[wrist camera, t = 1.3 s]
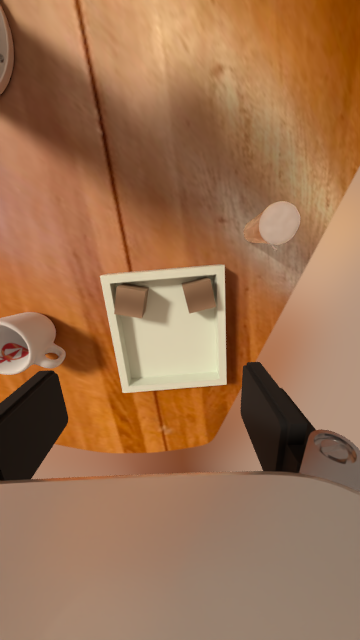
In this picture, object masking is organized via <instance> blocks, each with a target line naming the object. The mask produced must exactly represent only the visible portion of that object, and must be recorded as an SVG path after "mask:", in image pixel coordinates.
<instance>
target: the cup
mask: <svg viewBox="0 0 360 640" xmlns="http://www.w3.org/2000/svg"><path fill="white" fill-rule="evenodd" d="M55 337H56V329H55V326H54V324H53V323H52V321H51V320H50V319H49V318H47V317H46V316H44V315H42V314H40V313H36V312H26V313H21V314H16V315H12V316H8V317H4V318H0V374H6V375H12V374H18V373H21V372H23V371H25V370H26V369H27V368H29V367H30V366H31V365H33V364H36V365H39V366H42V367H45V368H55V367H57V366H59V365H60V364H61V363H62V362H63V361H64V359H65V356H66V352H65V350H64V349H62V348H61V347H59V346H57V345H56V344H54V343H53V342H54V340H55ZM47 353H55V354H57V355H58V356H59V358H58V359H55V360H52V359H48V358H47V357H45V354H47Z"/></svg>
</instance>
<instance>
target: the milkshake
mask: <svg viewBox="0 0 360 640" xmlns="http://www.w3.org/2000/svg"><path fill="white" fill-rule="evenodd" d="M299 225H300V214H299V212H298V210H297V208H296V207H295V206H294V205H293V204H292V203H289V202H286V201H278V202H275V203H273V204H271V205H269V206H268V207H267V208H266V209H265V210H263V211H262V212H261V213H260V214H259V215H258V216H256V217H255V218H254V219H252V220H251V221H250V222H248V223H247V224H246V225H245V228H244V231H243V233H244V237H245V239H246V240H247V241H249V242H250V243H265V244H270V245H271V246H272V248H273V249H274V250H275V251H277V249H276V248H275V246H274V245H281V244H284V243H286V242H288V241H289V240H290V239H292V238H293V236H294V235H295V234H296V232H297V230H298V228H299Z"/></svg>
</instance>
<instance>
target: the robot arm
mask: <svg viewBox="0 0 360 640" xmlns="http://www.w3.org/2000/svg"><path fill="white" fill-rule="evenodd" d="M13 62H14V46H13V40H12V34H11V30H10V27H9V24H8V21H7V18H6V15H5V13H4V11H3V9H2V7H1V5H0V95H1V94H2V93H3V91H4V90H5V88H6V86H7V85H8V83H9V80H10V77H11V74H12V70H13ZM241 416H242V419H243V422H244V424H245V427H246V429H247V432H248V434H249V436H250V439H251V442H252V444H253V447H254V449H255V452H256V454H257V456H258V459H259V461H260V464H261V466H262V469H263V471H242V472H202V473H201V472H200V473H172V474H145V475H119V476H97V477H96V476H95V477H72V478H51V479H31V478H32V476H33V475H34V474H35V472H36V470H37V469H38V467H39V466H40V464H41V463H42V461H43V460H44V458H45V457H46V455H47V454H48V452H49V451H50V449H51V448H52V446H53V445H54V443H55V442H56V440H57V439H58V437H59V436H60V434H61V433H62V431H63V430H64V428H65V427H66V425H67V423H68V414H67V410H66V406H65V402H64V398H63V394H62V390H61V386H60V382H59V377H58V375H57V374H56V373H55V372H54V371H39V372H38V373H36V374H35V375H34V376H33V377H31V378H30V379H29V380H28V381H27V382H25V383H24V384H23V385H22V386H21V387H19V388H18V389H17V390H16V391H15V392H13V393H12V394H11V395H10V396H9V397H7V398H6V399H5V400H4V401H2V402H1V403H0V640H360V450H359V449H358V447H356V446H355V445H354V444H353V443H352V442H351V441H350V440H348V439H347V438H345V437H343V436H342V435H339V434H337V433H335V432H332V431H329V430H315V428H314V427H313V426H312V425H311V423H310V422H309V421H308V420H307V418H306V417H305V416H304V415H303V413H302V412H301V411H300V410H299V408H298V407H297V406H296V405H295V403H294V402H293V401H292V400H291V398H290V397H289V396H288V395H287V393H286V392H285V391H284V390H283V389H282V388H279V386H278V385H277V384H276V382H275V381H274V380H273V379H272V378H271V376H270V375H269V374H268V372H267V371H266V370H265V368H264V367H263V366H262V364H261V363H260V362H248V363H247V365H245V366H243V378H242V397H241Z"/></svg>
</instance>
